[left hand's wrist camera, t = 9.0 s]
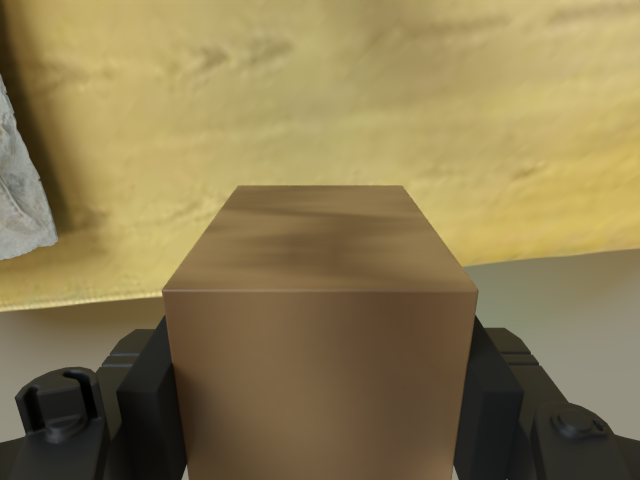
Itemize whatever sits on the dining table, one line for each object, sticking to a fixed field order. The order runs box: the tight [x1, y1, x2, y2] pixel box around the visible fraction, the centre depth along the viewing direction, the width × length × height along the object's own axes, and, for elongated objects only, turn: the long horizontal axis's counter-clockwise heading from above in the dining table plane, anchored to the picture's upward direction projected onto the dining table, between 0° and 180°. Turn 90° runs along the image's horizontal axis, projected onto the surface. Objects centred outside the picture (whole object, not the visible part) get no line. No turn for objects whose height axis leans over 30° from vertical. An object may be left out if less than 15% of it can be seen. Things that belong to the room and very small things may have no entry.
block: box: [162, 186, 478, 480], centre depth 13 cm, size 6×6×8 cm
